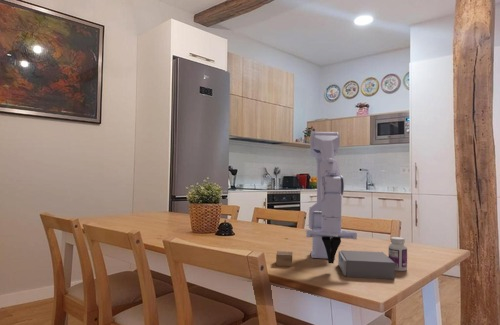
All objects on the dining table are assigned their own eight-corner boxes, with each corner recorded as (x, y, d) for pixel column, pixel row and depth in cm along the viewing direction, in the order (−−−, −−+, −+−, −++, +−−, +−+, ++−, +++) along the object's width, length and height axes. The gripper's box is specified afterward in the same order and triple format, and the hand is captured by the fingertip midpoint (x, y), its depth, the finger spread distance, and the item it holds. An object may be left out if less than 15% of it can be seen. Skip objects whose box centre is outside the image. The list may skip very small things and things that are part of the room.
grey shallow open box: (337, 264, 118) (338, 250, 118) (379, 266, 116) (379, 252, 116) (343, 275, 104) (343, 260, 104) (390, 278, 103) (390, 263, 103)
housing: (340, 264, 118) (340, 250, 118) (382, 266, 116) (382, 252, 116) (346, 276, 104) (347, 260, 104) (394, 279, 102) (394, 262, 102)
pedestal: (276, 261, 120) (277, 251, 120) (292, 262, 119) (292, 251, 119) (276, 265, 115) (276, 254, 115) (292, 266, 114) (292, 255, 114)
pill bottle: (402, 267, 116) (402, 236, 117) (410, 271, 111) (410, 239, 111) (385, 266, 116) (385, 236, 117) (392, 271, 111) (392, 239, 111)
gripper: (307, 217, 106) (306, 264, 105) (358, 219, 104) (358, 267, 104) (306, 214, 113) (305, 259, 112) (354, 216, 111) (354, 261, 111)
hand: (330, 262), depth 108 cm, fingers closed
